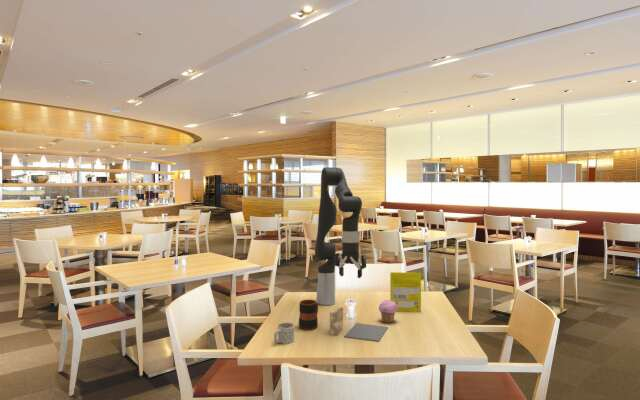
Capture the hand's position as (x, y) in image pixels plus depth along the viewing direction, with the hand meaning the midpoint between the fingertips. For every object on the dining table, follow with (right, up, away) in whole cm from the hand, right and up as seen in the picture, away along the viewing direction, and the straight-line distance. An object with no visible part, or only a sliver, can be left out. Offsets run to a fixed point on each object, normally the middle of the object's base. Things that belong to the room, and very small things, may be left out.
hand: (350, 276), depth 193 cm
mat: (+7, -24, -4) cm, 25 cm away
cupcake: (+19, -23, +11) cm, 32 cm away
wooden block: (-6, -24, -3) cm, 25 cm away
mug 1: (-29, -25, -14) cm, 41 cm away
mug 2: (-18, -24, +5) cm, 30 cm away
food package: (+30, -23, +26) cm, 45 cm away
